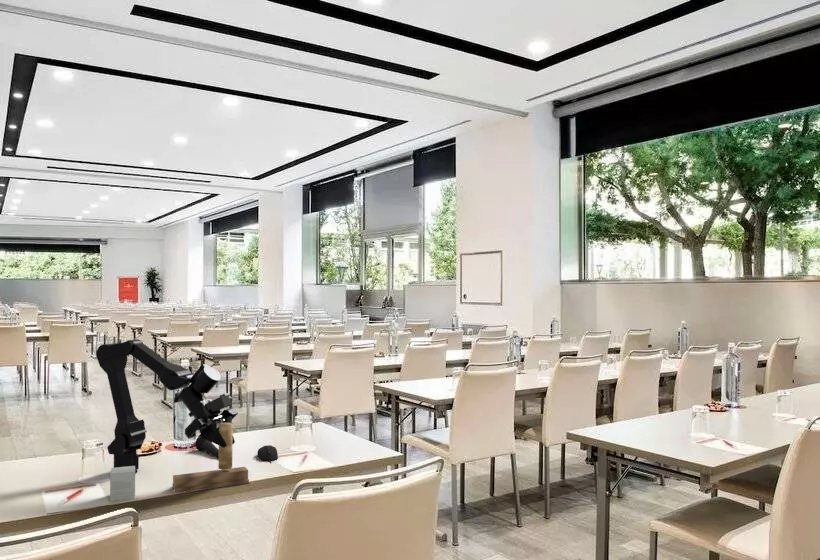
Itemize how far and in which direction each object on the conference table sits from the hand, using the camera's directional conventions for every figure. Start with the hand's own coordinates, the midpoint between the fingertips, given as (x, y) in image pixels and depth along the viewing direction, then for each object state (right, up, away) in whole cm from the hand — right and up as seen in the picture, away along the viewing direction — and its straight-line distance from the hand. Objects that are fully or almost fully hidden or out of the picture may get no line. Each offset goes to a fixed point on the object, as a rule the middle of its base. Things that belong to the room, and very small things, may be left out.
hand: (229, 444), depth 189 cm
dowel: (-1, -7, 0) cm, 7 cm away
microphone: (-16, -12, +32) cm, 38 cm away
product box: (-25, -11, -12) cm, 30 cm away
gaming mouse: (+5, -12, +28) cm, 31 cm away
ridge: (-5, -11, -2) cm, 12 cm away
